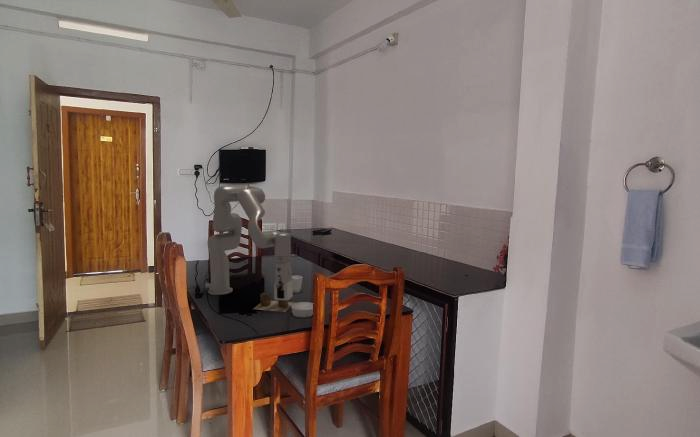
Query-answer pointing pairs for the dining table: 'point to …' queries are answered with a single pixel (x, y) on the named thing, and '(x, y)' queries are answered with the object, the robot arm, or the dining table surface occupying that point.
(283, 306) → the post
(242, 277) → the dining table surface
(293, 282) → the cup
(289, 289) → the matte grey cube
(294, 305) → the ramekin
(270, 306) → the post board
